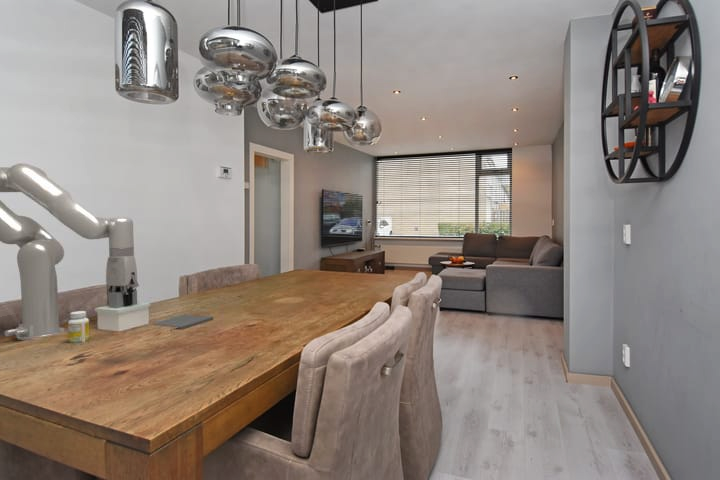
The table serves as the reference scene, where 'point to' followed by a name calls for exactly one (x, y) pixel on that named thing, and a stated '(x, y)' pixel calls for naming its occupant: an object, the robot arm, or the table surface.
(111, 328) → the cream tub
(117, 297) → the sage lid
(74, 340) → the supplement bottle
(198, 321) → the charcoal mat
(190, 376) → the table surface
